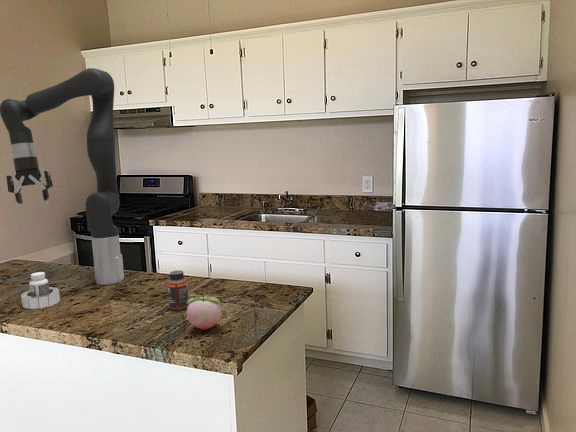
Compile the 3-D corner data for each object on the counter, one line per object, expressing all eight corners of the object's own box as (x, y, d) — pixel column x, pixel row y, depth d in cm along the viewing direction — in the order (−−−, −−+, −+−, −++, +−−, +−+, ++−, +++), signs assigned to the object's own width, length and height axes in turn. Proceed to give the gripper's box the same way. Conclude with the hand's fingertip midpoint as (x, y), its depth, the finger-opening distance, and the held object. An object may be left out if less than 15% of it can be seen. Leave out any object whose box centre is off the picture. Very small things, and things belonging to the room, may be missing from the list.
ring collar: (64, 296, 154) (63, 286, 154) (52, 307, 144) (50, 297, 144) (31, 298, 153) (30, 288, 153) (16, 309, 143) (15, 299, 142)
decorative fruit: (222, 322, 130) (221, 287, 128) (222, 334, 122) (220, 297, 120) (188, 324, 128) (186, 290, 127) (185, 336, 120) (183, 300, 119)
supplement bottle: (192, 305, 144) (190, 270, 142) (182, 312, 138) (180, 275, 136) (176, 303, 145) (173, 268, 144) (165, 310, 140) (162, 274, 138)
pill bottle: (51, 299, 152) (48, 270, 151) (49, 304, 147) (45, 274, 146) (33, 301, 150) (29, 272, 149) (30, 306, 145) (26, 276, 144)
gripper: (-2, 159, 159) (7, 205, 161) (42, 153, 161) (50, 199, 163) (8, 160, 167) (16, 204, 168) (49, 154, 169) (57, 198, 170)
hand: (33, 202), depth 166 cm, fingers open, 8 cm apart
